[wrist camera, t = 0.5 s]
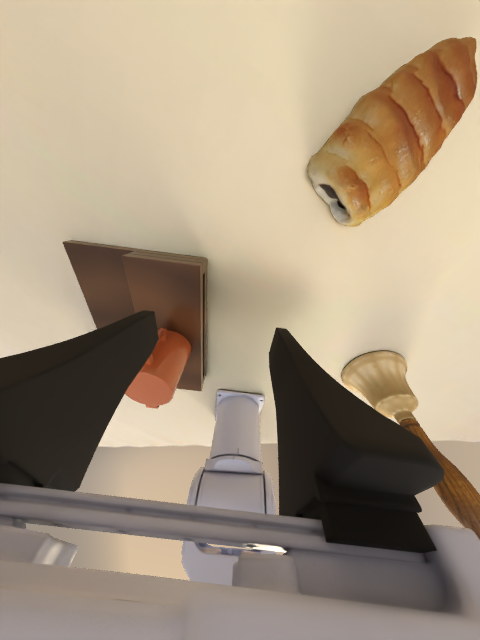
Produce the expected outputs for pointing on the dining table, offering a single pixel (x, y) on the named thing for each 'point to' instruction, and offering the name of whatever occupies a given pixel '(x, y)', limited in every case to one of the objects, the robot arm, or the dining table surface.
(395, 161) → the pastry
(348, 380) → the hand bell
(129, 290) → the step shelf
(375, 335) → the dining table surface
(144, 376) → the jug
